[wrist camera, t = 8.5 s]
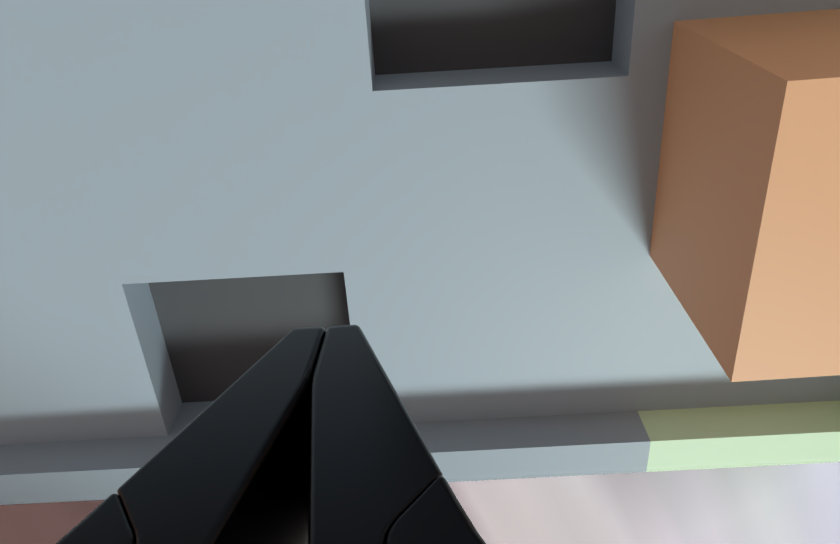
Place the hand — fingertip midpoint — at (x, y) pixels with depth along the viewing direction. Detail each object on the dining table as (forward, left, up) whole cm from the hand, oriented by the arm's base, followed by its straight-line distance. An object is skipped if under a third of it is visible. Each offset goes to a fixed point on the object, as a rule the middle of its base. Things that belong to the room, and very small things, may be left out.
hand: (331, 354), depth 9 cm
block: (0, -9, -6) cm, 11 cm away
